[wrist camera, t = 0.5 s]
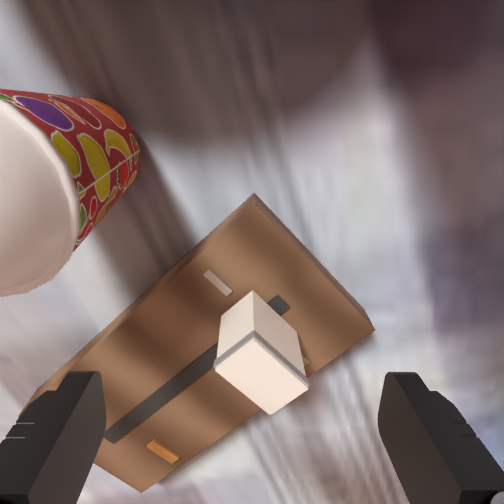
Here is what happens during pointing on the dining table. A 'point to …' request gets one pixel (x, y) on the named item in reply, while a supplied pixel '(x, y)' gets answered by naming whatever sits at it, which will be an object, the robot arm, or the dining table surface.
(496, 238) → the dining table surface
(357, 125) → the dining table surface
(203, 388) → the brown flat wooden board
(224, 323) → the fader tab
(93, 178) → the smoothie
